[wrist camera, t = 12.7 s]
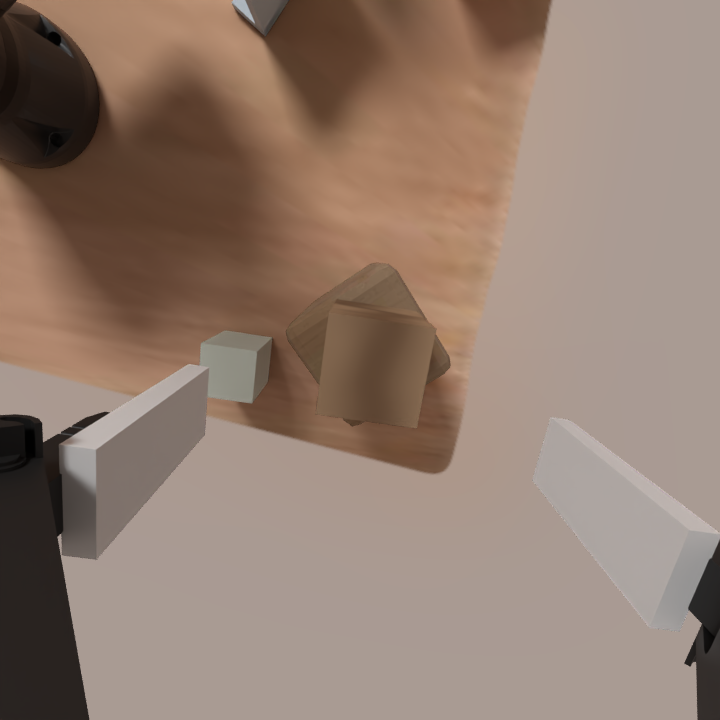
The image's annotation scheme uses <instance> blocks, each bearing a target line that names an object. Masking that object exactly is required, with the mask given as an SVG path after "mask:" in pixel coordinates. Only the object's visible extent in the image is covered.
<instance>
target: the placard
mask: <svg viewBox="0 0 720 720" xmlns="http://www.w3.org/2000/svg"><path fill="white" fill-rule="evenodd" d="M288 1H289V0H233V1H232V4H233V6H234V9H236V10H237V11H238V12H239V13H240V14H241V15H242V16H243V17H244V18H245V19H247V20H248V21H249V22H250V23H251V24H252V25H253V26H254V27H255V28H257V29H258V30H259V31H260V32H261V33H262V34H263V35H264V36H265V37H266V35H267V34H268V32H269V30H270V29H271V27H272V26H273V24H274V23H275V21H276V20H277V18H278V17H279V15H280V13H281V12H282V10H283V9H284V7H285V6H286V4H287V3H288Z"/></svg>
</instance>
